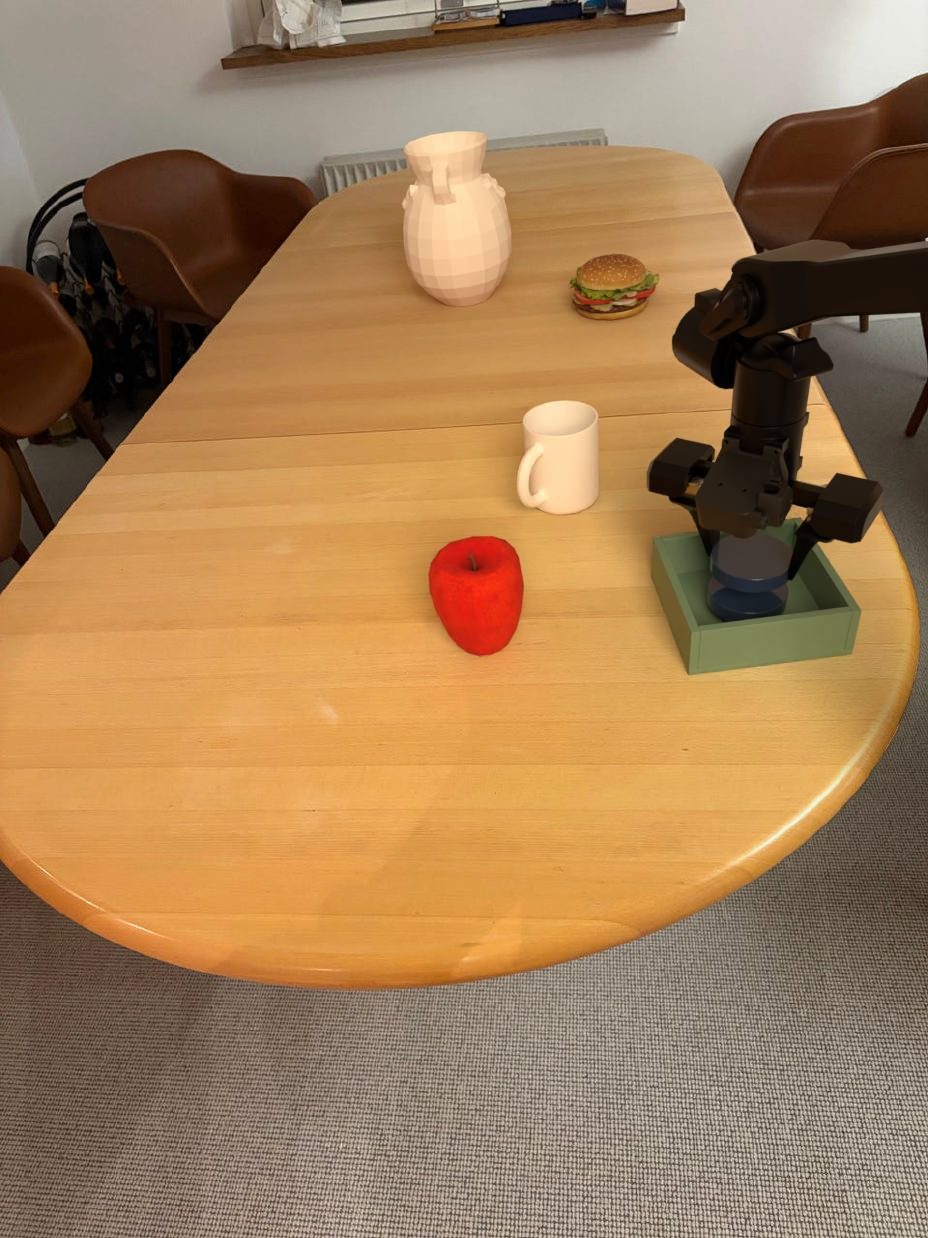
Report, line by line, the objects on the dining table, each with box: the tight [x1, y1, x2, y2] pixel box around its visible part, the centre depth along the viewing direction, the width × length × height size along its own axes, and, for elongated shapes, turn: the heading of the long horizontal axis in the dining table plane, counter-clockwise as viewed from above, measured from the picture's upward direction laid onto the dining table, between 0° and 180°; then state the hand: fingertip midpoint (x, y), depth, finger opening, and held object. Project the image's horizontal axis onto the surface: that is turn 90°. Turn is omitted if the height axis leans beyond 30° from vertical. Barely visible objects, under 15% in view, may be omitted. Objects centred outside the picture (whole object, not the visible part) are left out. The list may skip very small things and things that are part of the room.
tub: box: [651, 516, 862, 676], centre depth 82 cm, size 15×15×5 cm
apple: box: [427, 535, 525, 657], centre depth 82 cm, size 9×9×11 cm
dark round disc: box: [707, 576, 788, 622], centre depth 83 cm, size 7×7×2 cm
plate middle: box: [710, 533, 793, 593], centre depth 80 cm, size 7×7×2 cm
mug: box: [516, 399, 601, 516], centre depth 99 cm, size 12×8×10 cm
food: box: [569, 253, 660, 321], centre depth 142 cm, size 14×14×8 cm
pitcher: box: [401, 131, 513, 307], centre depth 148 cm, size 19×18×25 cm
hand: (750, 566), depth 80 cm, fingers closed on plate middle, 7 cm apart
